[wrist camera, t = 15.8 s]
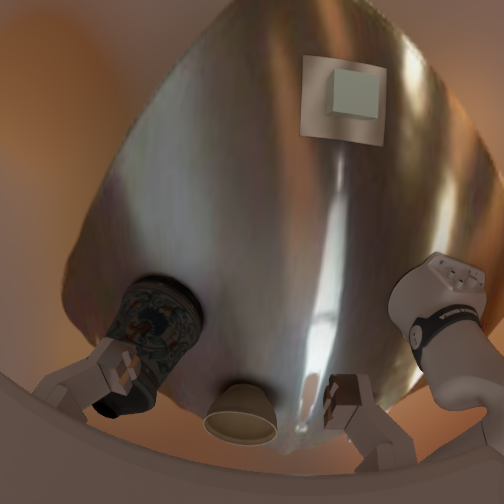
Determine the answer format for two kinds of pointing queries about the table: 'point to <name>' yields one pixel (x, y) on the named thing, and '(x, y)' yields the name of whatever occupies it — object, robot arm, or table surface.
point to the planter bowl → (242, 417)
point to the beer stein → (152, 338)
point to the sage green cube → (352, 94)
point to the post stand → (316, 97)
